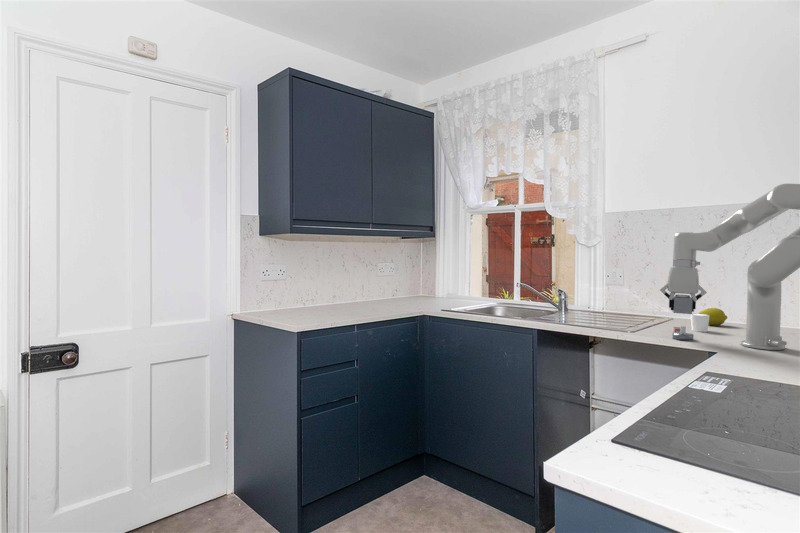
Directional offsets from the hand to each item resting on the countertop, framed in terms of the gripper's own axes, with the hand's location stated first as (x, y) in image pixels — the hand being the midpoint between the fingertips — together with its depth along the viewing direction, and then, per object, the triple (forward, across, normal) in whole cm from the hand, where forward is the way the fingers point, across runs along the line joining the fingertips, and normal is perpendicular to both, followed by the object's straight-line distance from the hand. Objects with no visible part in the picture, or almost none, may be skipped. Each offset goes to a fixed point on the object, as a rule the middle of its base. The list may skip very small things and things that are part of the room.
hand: (681, 310), depth 179 cm
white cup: (+11, -10, -24) cm, 28 cm away
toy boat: (+11, -1, -6) cm, 13 cm away
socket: (+1, 0, 0) cm, 1 cm away
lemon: (+11, -17, -43) cm, 47 cm away
